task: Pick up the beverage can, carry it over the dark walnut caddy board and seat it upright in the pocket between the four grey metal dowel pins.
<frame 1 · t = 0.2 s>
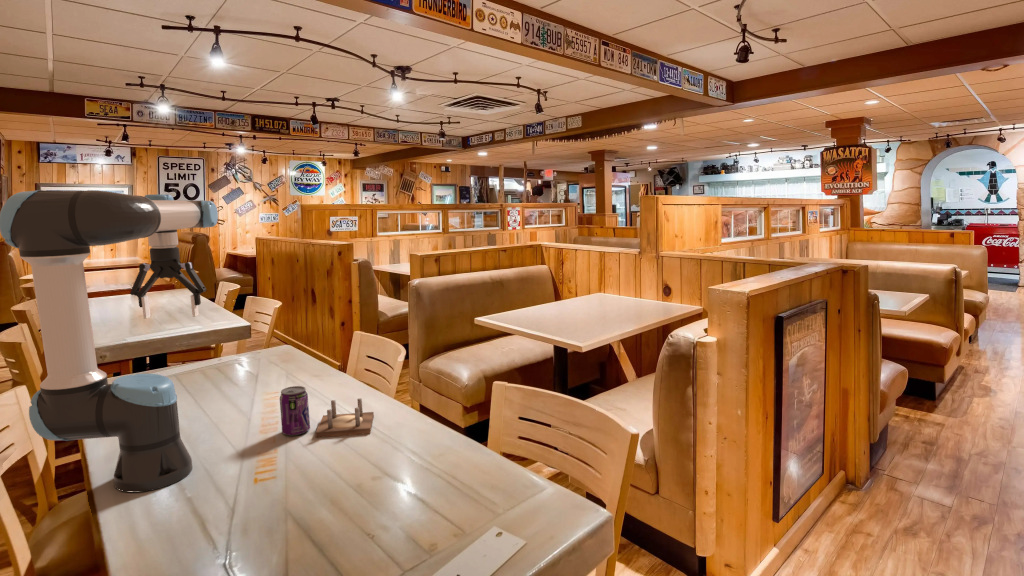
hand: (171, 316, 170), 28 cm above the table, fingers open, 13 cm apart
pin board: (346, 426, 155), on the table
beverage can: (296, 432, 152), on the table
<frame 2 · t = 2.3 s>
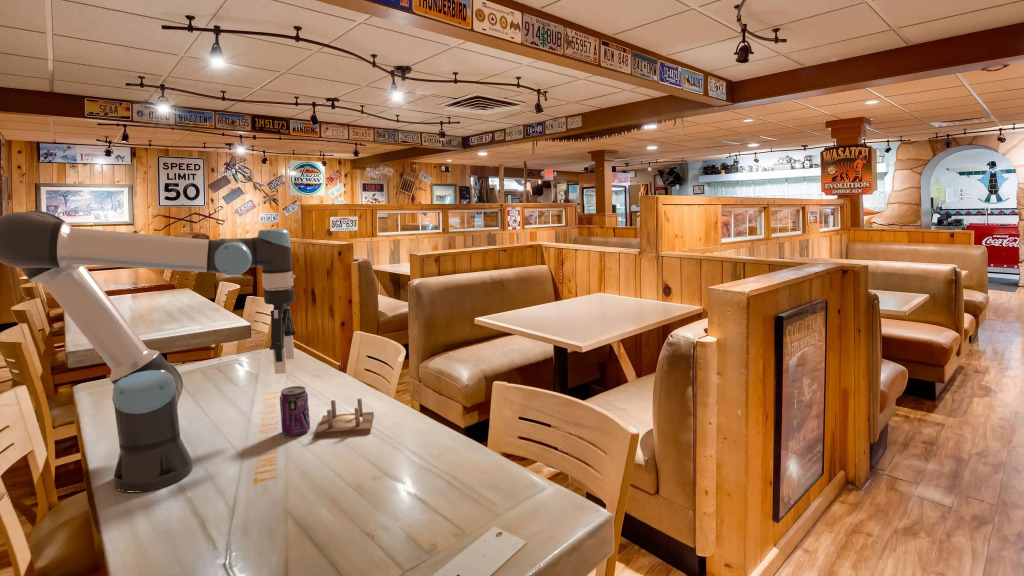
hand: (285, 365, 151), 18 cm above the table, fingers open, 13 cm apart
nothing on the table moved.
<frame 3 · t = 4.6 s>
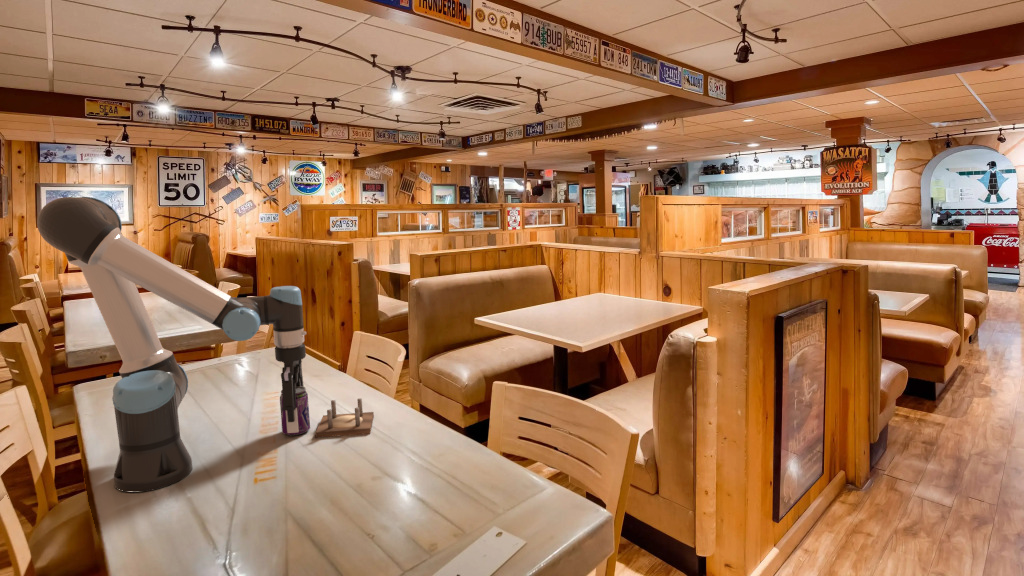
hand: (296, 426, 152), 2 cm above the table, fingers closed on beverage can, 7 cm apart
beverage can: (296, 432, 152), on the table, touching gripper
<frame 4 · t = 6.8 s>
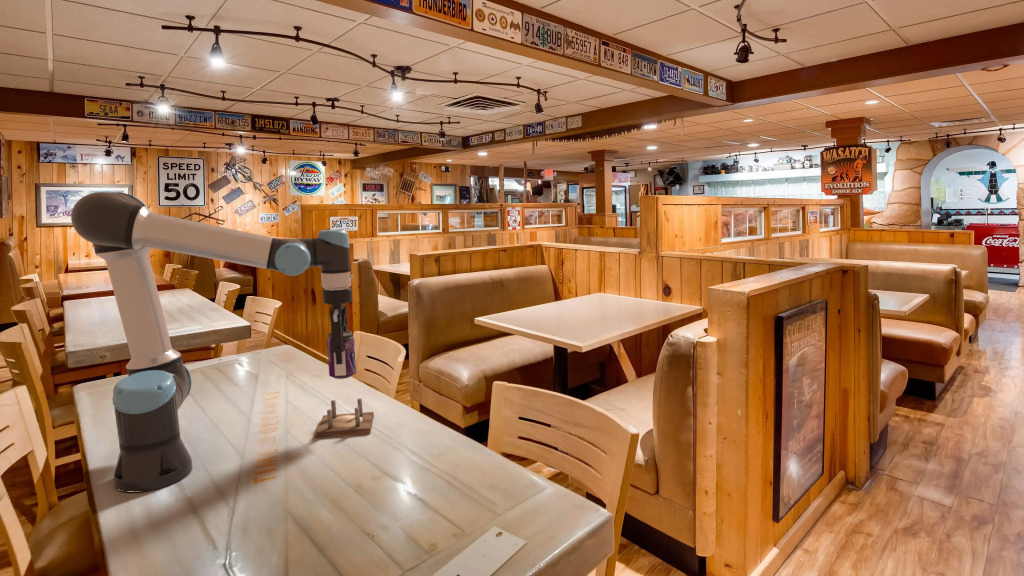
hand: (342, 370, 153), 16 cm above the table, fingers closed on beverage can, 7 cm apart
beverage can: (343, 376, 153), point 14 cm above the table, touching gripper
when the fingers open (4 cm above the table, at t = 9.3 s): beverage can drops 1 cm, resting on pin board.
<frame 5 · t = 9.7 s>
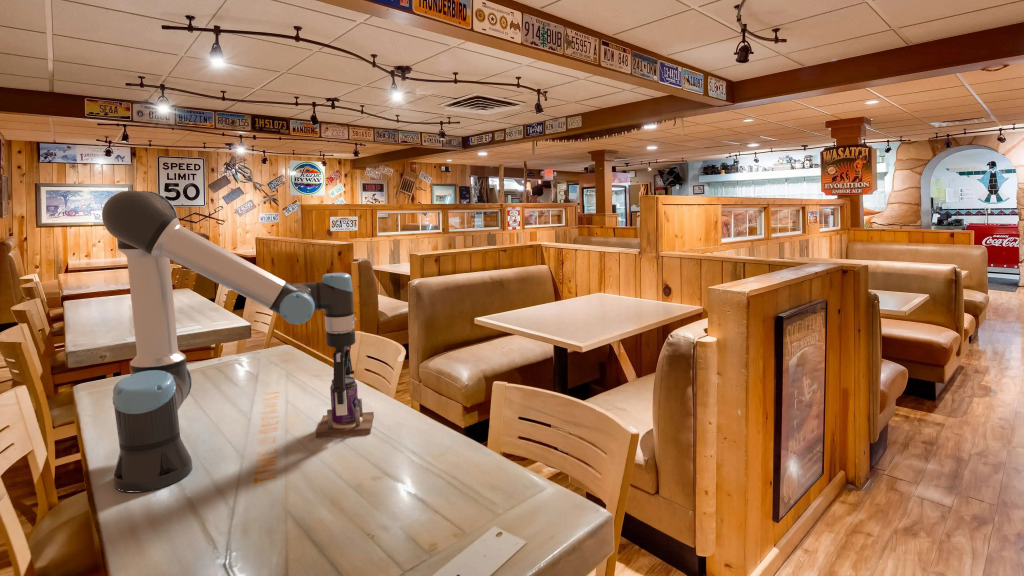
hand: (344, 405, 154), 6 cm above the table, fingers open, 13 cm apart
beverage can: (345, 422, 155), point 1 cm above the table, touching pin board
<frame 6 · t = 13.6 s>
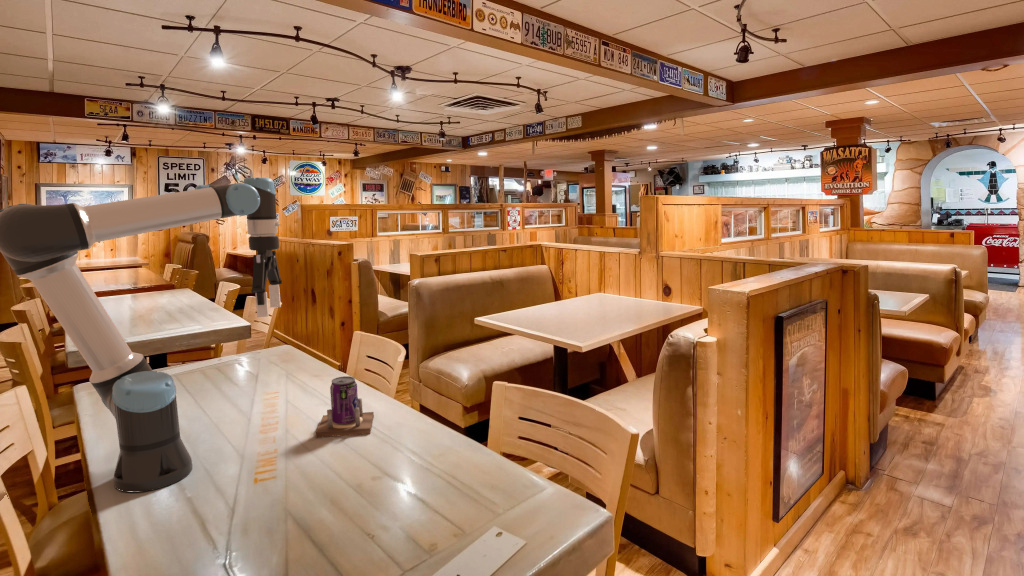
hand: (269, 311, 156), 32 cm above the table, fingers open, 13 cm apart
nothing on the table moved.
at the end: beverage can 0.0 cm off-centre on the pin board, point 1.4 cm above the pin board's base; beverage can tilted 0°; the gripper is holding nothing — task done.
